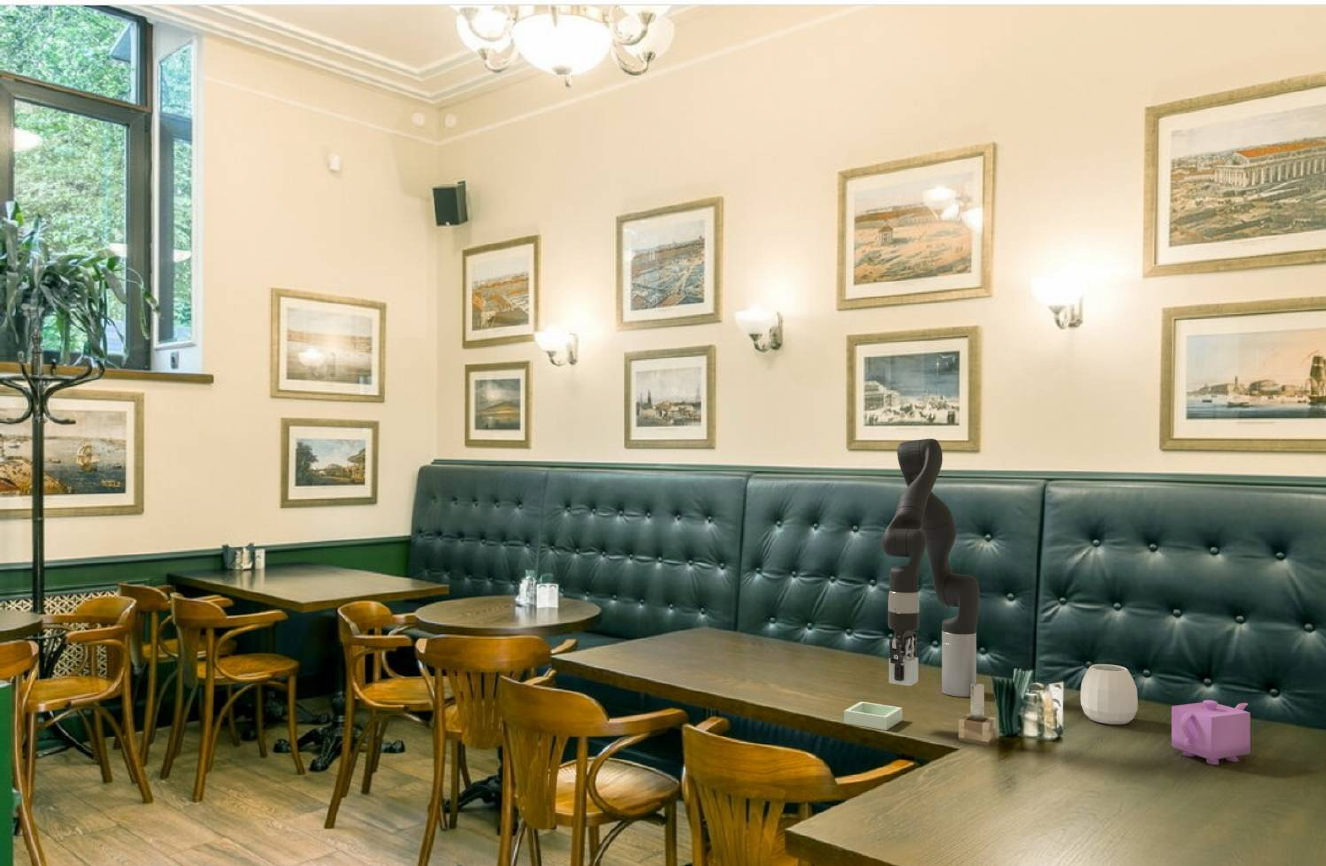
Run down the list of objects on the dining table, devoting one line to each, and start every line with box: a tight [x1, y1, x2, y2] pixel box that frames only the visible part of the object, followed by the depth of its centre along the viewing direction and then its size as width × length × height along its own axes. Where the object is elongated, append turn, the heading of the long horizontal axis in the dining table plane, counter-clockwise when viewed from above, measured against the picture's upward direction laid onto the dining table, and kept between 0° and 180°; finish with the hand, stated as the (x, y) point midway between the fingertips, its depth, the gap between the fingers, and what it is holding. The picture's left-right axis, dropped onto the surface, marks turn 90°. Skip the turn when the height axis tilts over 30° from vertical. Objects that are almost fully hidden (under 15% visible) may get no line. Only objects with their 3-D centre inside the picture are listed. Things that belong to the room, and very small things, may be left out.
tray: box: [843, 701, 903, 731], centre depth 249 cm, size 11×11×3 cm
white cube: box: [888, 656, 919, 687], centre depth 246 cm, size 6×6×6 cm
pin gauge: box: [970, 682, 985, 722], centre depth 235 cm, size 3×3×12 cm
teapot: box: [1171, 699, 1251, 766], centre depth 223 cm, size 20×10×12 cm, turn 112°
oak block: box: [958, 713, 997, 746], centre depth 235 cm, size 7×7×5 cm
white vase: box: [1080, 663, 1139, 725], centre depth 251 cm, size 13×13×14 cm
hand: (903, 677), depth 246 cm, fingers closed on white cube, 5 cm apart
